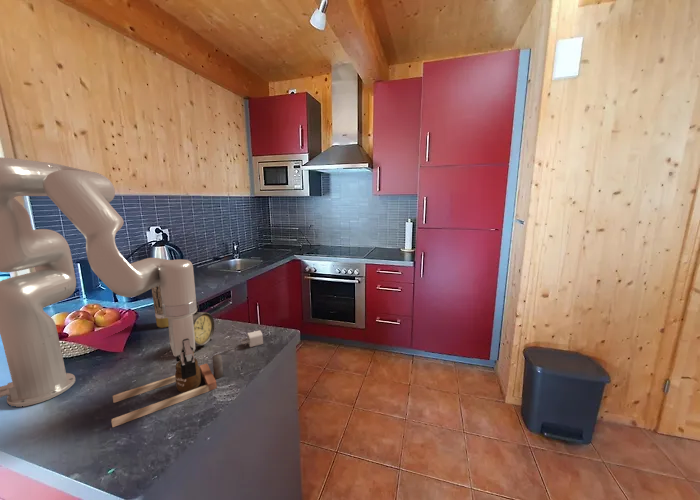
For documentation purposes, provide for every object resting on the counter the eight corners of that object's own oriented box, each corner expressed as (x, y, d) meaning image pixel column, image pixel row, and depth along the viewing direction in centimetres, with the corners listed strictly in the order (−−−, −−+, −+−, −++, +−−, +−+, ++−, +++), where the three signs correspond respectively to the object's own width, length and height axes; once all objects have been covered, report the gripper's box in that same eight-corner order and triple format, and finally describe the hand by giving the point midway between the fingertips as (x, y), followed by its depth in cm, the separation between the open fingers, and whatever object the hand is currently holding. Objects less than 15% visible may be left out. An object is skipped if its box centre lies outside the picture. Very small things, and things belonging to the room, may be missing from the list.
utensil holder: (194, 376, 84) (189, 337, 81) (206, 384, 80) (201, 344, 78) (172, 387, 79) (167, 347, 77) (184, 396, 75) (178, 354, 73)
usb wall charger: (263, 344, 101) (262, 334, 101) (242, 350, 98) (241, 339, 97) (260, 339, 105) (259, 329, 104) (240, 345, 101) (239, 334, 101)
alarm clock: (195, 355, 95) (190, 308, 92) (181, 353, 96) (175, 307, 93) (217, 339, 105) (212, 296, 102) (203, 337, 106) (199, 295, 103)
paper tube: (152, 326, 116) (144, 265, 111) (169, 320, 122) (161, 261, 117) (164, 329, 113) (156, 267, 109) (180, 322, 119) (173, 263, 115)
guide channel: (112, 427, 65) (108, 403, 64) (113, 400, 74) (109, 379, 73) (228, 383, 80) (226, 364, 79) (218, 365, 89) (216, 347, 88)
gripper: (159, 300, 80) (165, 358, 83) (167, 323, 66) (174, 390, 70) (190, 295, 84) (195, 349, 88) (203, 315, 71) (208, 378, 74)
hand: (185, 367), depth 79 cm, fingers open, 9 cm apart
